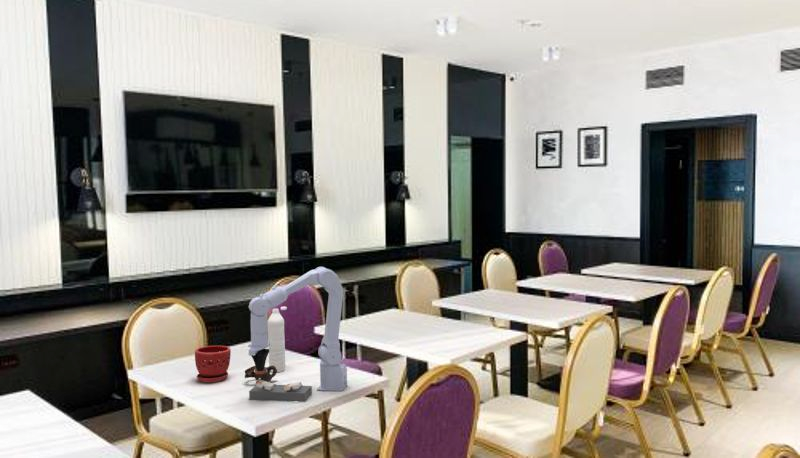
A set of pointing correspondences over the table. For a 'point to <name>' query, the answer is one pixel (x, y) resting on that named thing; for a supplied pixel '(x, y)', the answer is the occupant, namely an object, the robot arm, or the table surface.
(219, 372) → the plant pot
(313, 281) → the robot arm
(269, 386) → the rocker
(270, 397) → the power strip
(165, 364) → the table surface
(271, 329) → the water bottle
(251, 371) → the pottery mug
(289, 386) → the block
